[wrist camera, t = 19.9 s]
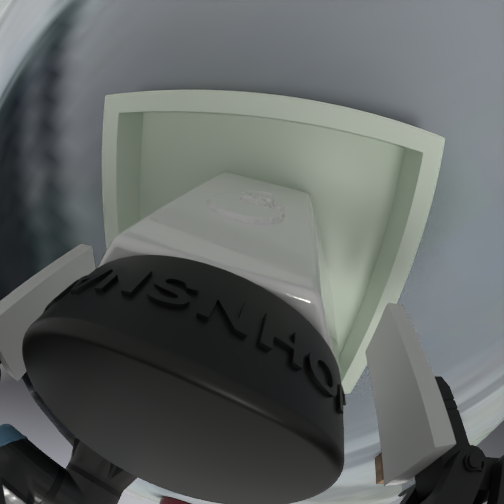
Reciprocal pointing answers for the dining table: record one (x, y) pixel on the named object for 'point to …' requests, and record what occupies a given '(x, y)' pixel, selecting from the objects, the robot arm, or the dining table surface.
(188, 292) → the jar
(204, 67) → the dining table surface
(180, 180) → the tray
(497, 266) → the dining table surface
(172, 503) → the canister
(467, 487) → the robot arm
